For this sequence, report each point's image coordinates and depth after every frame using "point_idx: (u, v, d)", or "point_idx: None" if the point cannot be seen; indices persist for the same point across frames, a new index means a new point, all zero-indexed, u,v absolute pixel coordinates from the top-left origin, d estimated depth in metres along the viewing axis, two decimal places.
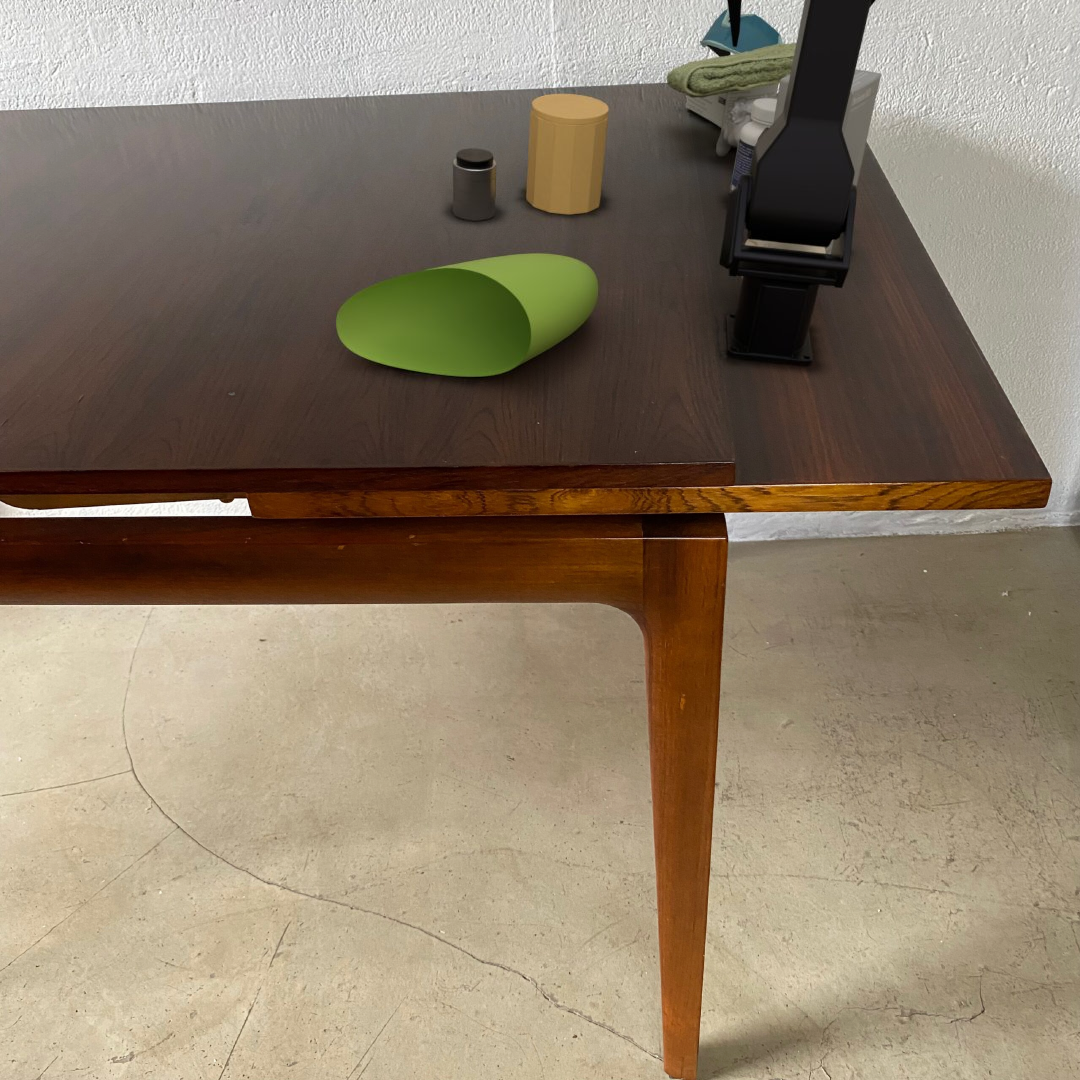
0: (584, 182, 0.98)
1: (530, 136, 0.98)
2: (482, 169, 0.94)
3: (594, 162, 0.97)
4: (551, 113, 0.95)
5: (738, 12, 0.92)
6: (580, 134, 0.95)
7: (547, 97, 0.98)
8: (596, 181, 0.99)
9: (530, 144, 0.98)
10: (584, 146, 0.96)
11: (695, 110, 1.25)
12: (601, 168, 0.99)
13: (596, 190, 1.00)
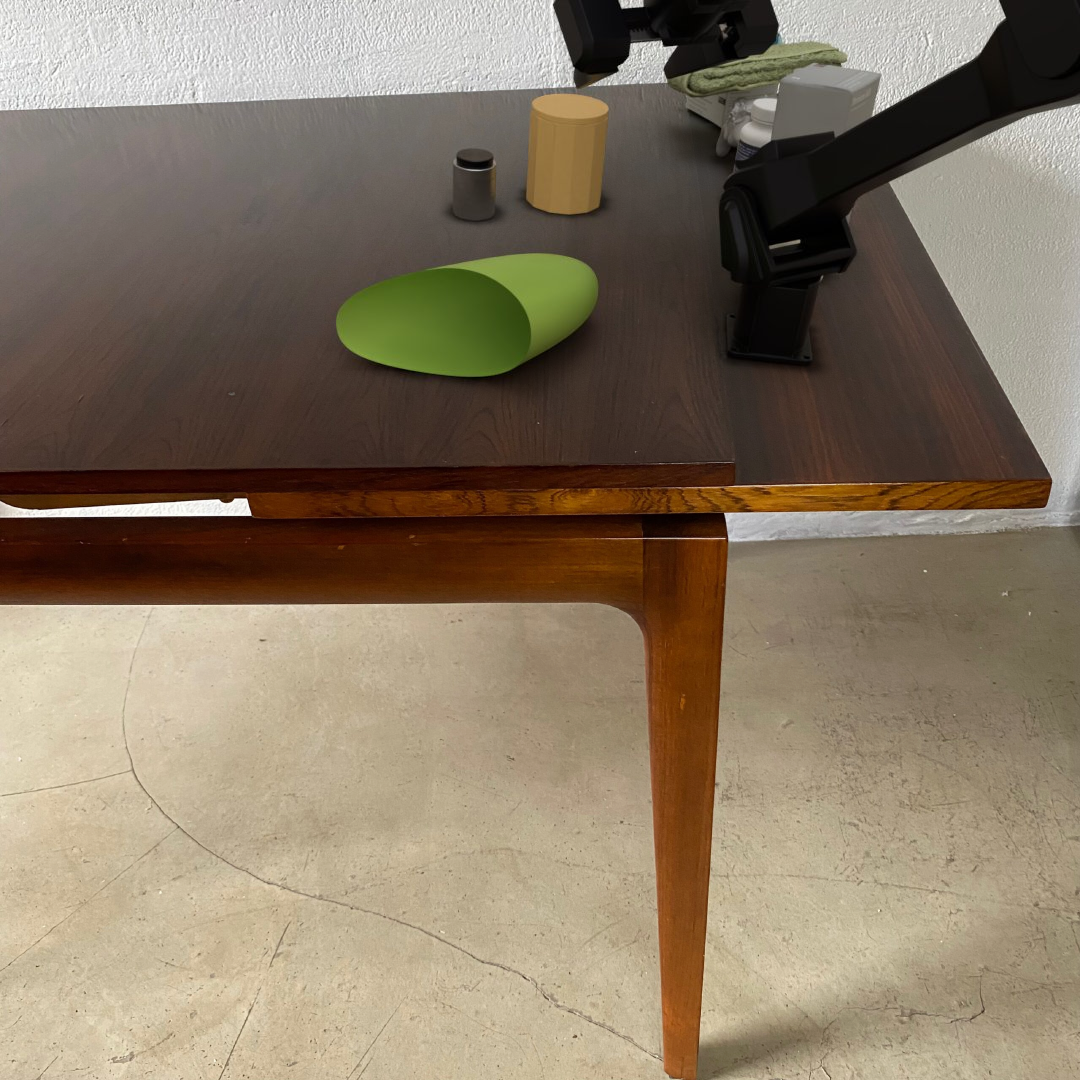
0: (584, 182, 0.98)
1: (530, 136, 0.98)
2: (482, 169, 0.94)
3: (594, 162, 0.97)
4: (551, 113, 0.95)
5: (596, 81, 0.84)
6: (580, 134, 0.95)
7: (547, 97, 0.98)
8: (596, 181, 0.99)
9: (530, 144, 0.98)
10: (584, 146, 0.96)
11: (695, 110, 1.25)
12: (601, 168, 0.99)
13: (596, 190, 1.00)
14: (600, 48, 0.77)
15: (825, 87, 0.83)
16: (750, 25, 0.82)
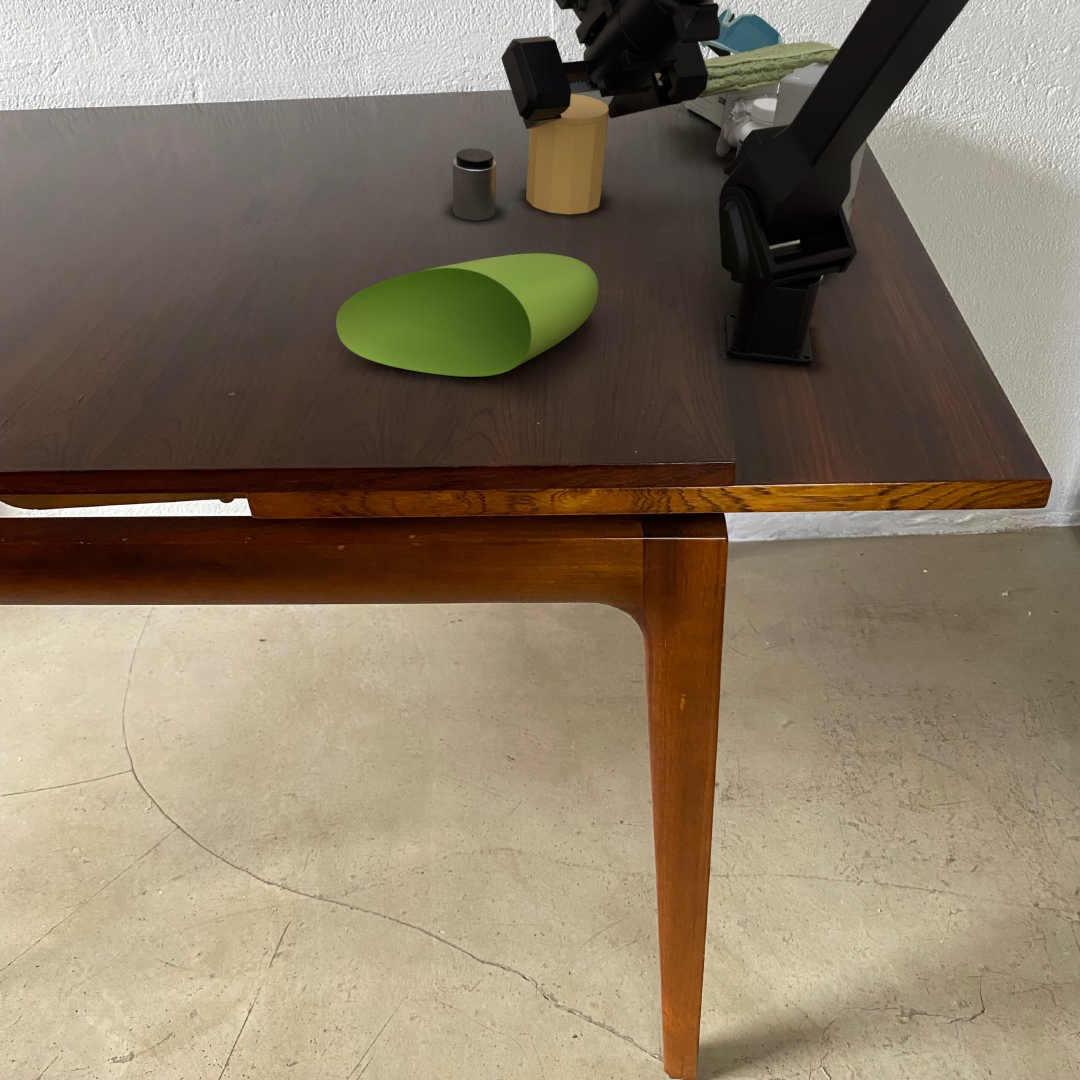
0: (584, 182, 0.98)
1: (530, 136, 0.98)
2: (482, 169, 0.94)
3: (594, 162, 0.97)
4: None
5: (542, 124, 0.93)
6: (580, 134, 0.95)
7: None
8: (596, 181, 0.99)
9: (530, 144, 0.98)
10: (584, 146, 0.96)
11: (695, 110, 1.25)
12: (601, 168, 0.99)
13: (596, 190, 1.00)
14: (543, 100, 0.85)
15: None
16: (682, 75, 0.91)
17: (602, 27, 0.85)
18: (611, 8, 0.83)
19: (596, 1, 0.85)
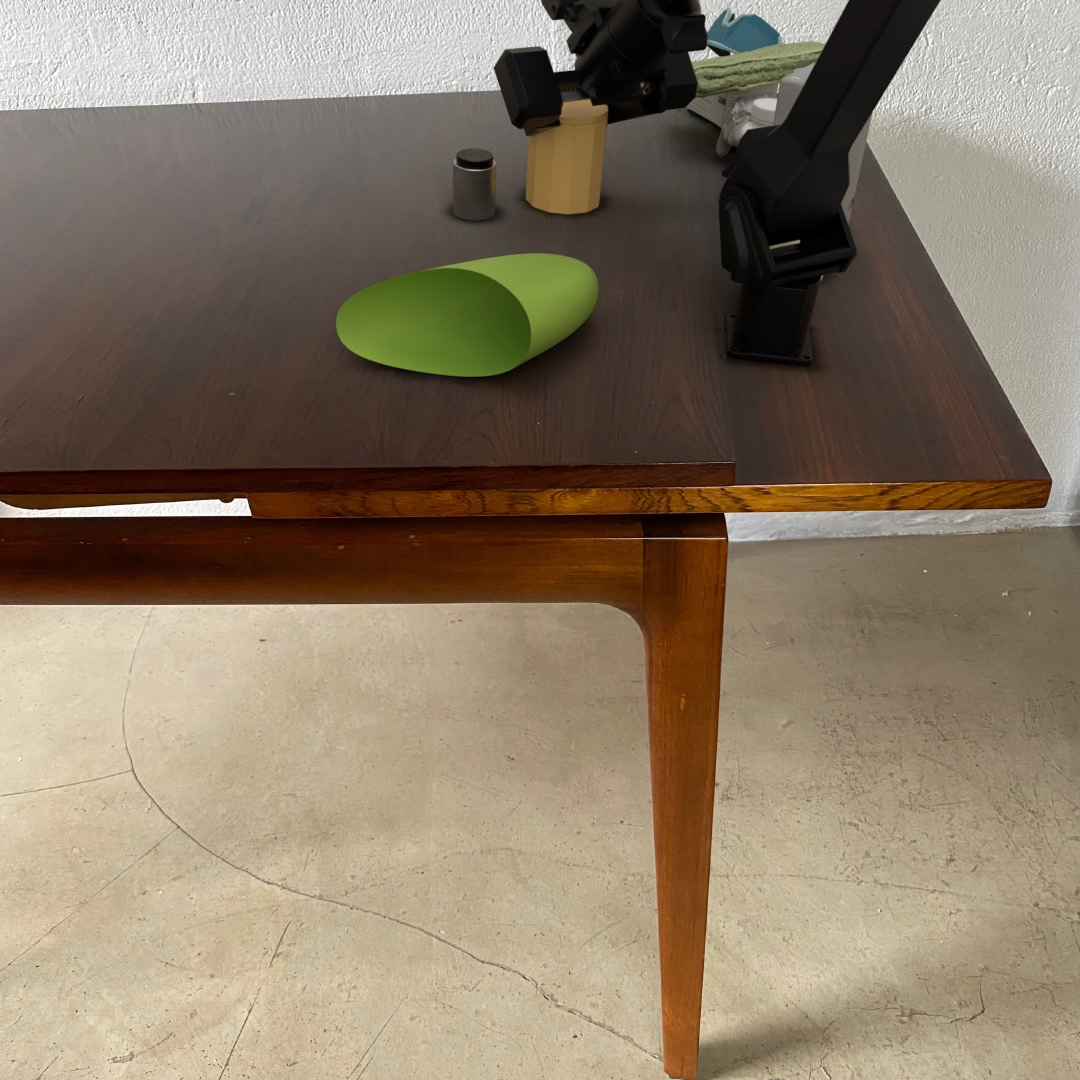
0: (583, 182, 0.98)
1: (530, 136, 0.98)
2: (482, 169, 0.94)
3: (593, 162, 0.97)
4: None
5: (542, 131, 0.95)
6: (579, 134, 0.95)
7: None
8: (595, 181, 0.99)
9: (530, 144, 0.98)
10: (583, 146, 0.96)
11: (695, 110, 1.25)
12: (600, 168, 0.99)
13: (595, 190, 1.00)
14: (534, 109, 0.87)
15: None
16: (671, 84, 0.92)
17: (592, 38, 0.87)
18: (600, 19, 0.85)
19: (586, 12, 0.87)
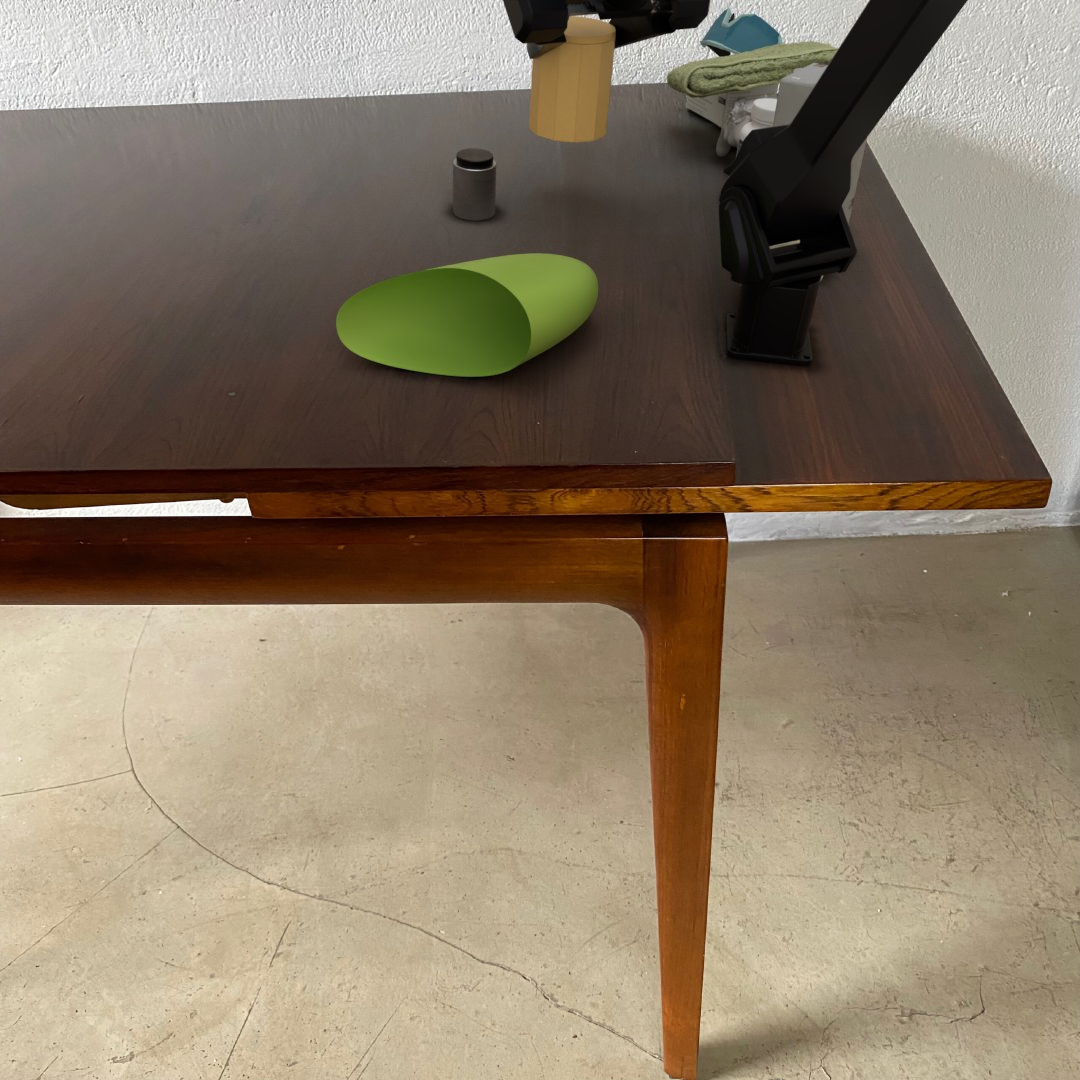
0: (589, 107, 0.94)
1: (533, 59, 0.93)
2: (482, 169, 0.94)
3: (600, 86, 0.93)
4: None
5: (546, 51, 0.90)
6: (586, 54, 0.91)
7: None
8: (602, 107, 0.95)
9: (533, 68, 0.94)
10: (590, 68, 0.91)
11: (695, 110, 1.25)
12: (608, 93, 0.95)
13: (602, 117, 0.95)
14: (539, 20, 0.83)
15: None
16: (682, 0, 0.88)
17: None
18: None
19: None
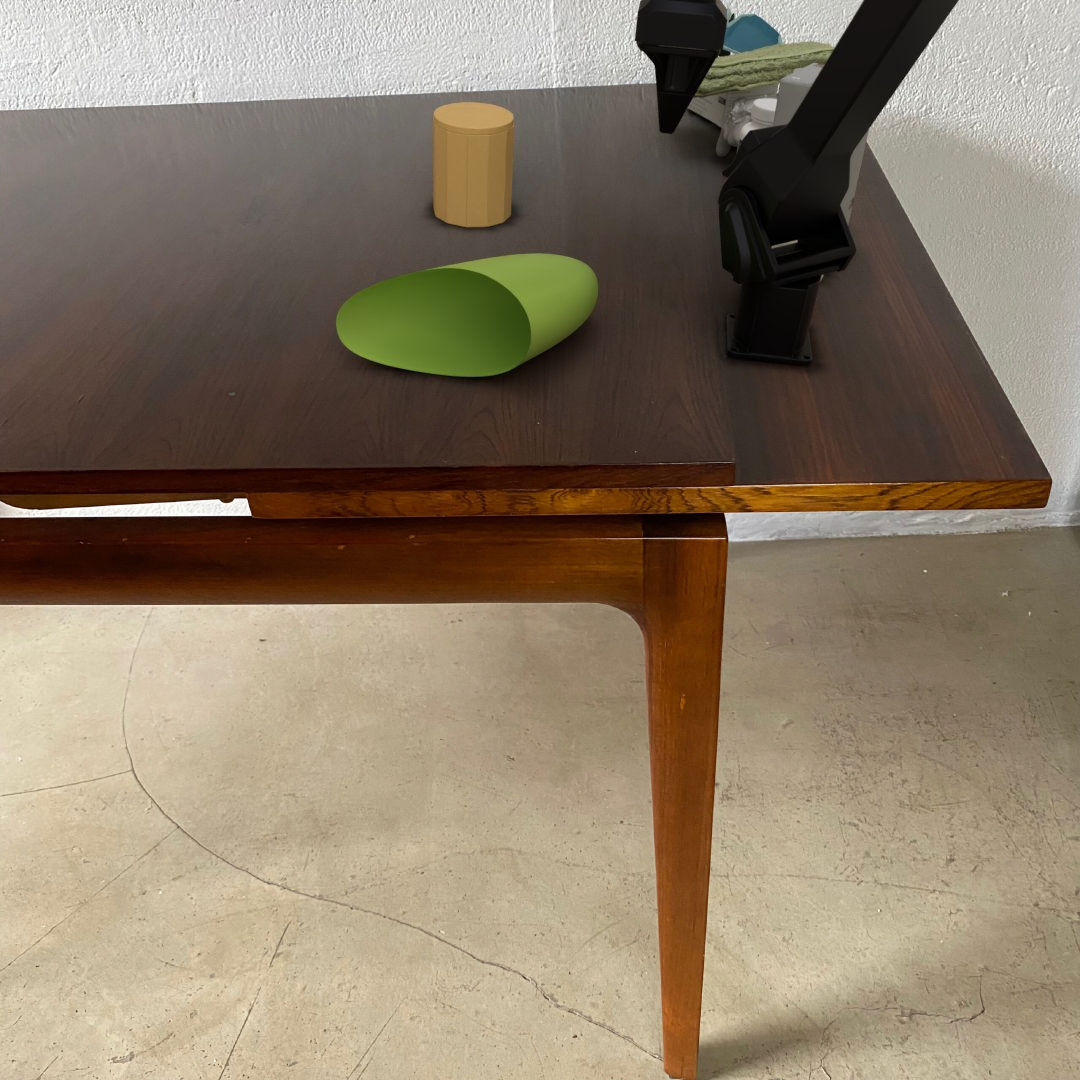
0: (499, 192, 0.95)
1: (436, 150, 0.93)
2: None
3: (506, 170, 0.95)
4: (461, 125, 0.91)
5: None
6: (493, 144, 0.92)
7: (446, 108, 0.94)
8: (508, 189, 0.96)
9: (437, 159, 0.94)
10: (497, 155, 0.93)
11: (695, 110, 1.25)
12: (511, 175, 0.96)
13: (509, 198, 0.97)
14: (721, 9, 0.71)
15: None
16: None
17: None
18: None
19: None
